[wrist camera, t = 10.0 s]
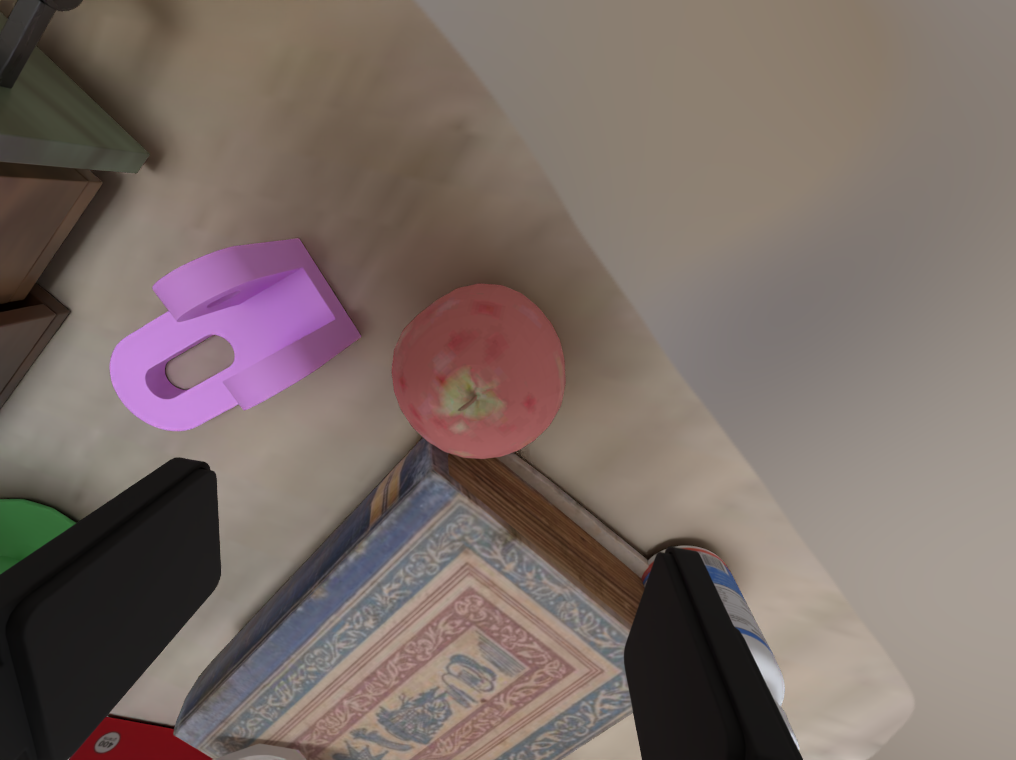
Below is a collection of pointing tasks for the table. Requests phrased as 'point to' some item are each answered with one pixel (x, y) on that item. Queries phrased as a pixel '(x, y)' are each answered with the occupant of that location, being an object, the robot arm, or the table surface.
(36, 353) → the cabinet
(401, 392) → the apple
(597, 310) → the table surface
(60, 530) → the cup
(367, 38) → the table surface
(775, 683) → the pill bottle
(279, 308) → the bracket
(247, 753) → the pendant light
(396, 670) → the book
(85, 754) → the food packaging
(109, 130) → the drawer
